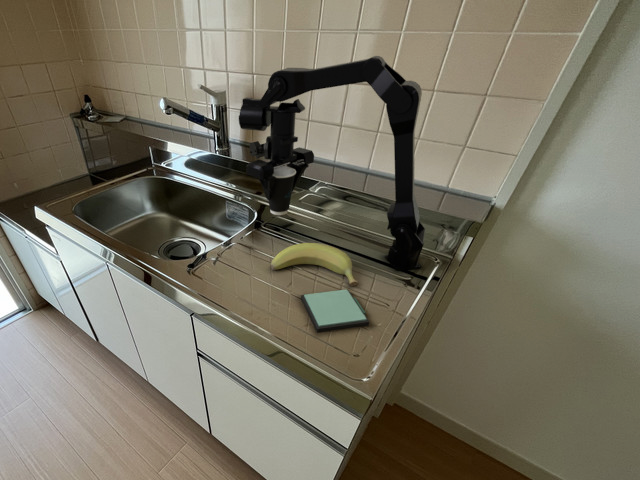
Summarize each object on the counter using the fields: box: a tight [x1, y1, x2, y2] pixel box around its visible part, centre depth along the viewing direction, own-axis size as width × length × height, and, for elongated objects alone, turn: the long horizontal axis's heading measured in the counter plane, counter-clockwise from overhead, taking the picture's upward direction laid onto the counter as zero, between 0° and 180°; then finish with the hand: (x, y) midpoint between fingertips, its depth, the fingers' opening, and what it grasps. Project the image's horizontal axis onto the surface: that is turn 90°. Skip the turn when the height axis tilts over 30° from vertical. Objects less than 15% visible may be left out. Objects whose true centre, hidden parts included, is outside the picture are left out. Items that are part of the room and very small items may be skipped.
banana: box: [270, 242, 358, 287], centre depth 83 cm, size 14×6×20 cm
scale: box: [300, 288, 370, 334], centre depth 72 cm, size 12×11×2 cm
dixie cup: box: [268, 165, 296, 216], centre depth 90 cm, size 8×8×11 cm
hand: (279, 195), depth 90 cm, fingers closed on dixie cup, 8 cm apart
